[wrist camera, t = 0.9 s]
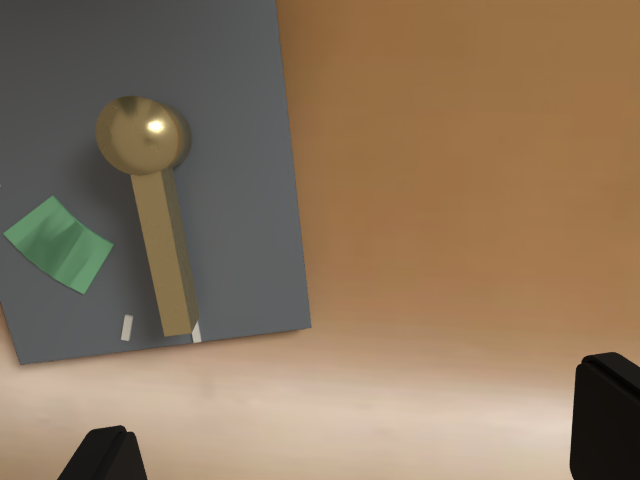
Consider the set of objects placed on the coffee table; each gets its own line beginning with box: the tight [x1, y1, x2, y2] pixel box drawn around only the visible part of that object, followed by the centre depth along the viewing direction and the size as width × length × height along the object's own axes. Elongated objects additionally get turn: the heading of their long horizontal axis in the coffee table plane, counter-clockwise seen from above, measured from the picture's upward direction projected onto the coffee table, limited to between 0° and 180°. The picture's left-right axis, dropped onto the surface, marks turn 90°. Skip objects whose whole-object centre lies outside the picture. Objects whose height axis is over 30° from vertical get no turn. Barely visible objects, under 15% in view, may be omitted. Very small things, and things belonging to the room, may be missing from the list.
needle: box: [95, 96, 200, 336], centre depth 24 cm, size 14×4×4 cm, turn 5°
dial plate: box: [0, 0, 311, 365], centre depth 26 cm, size 24×20×2 cm
